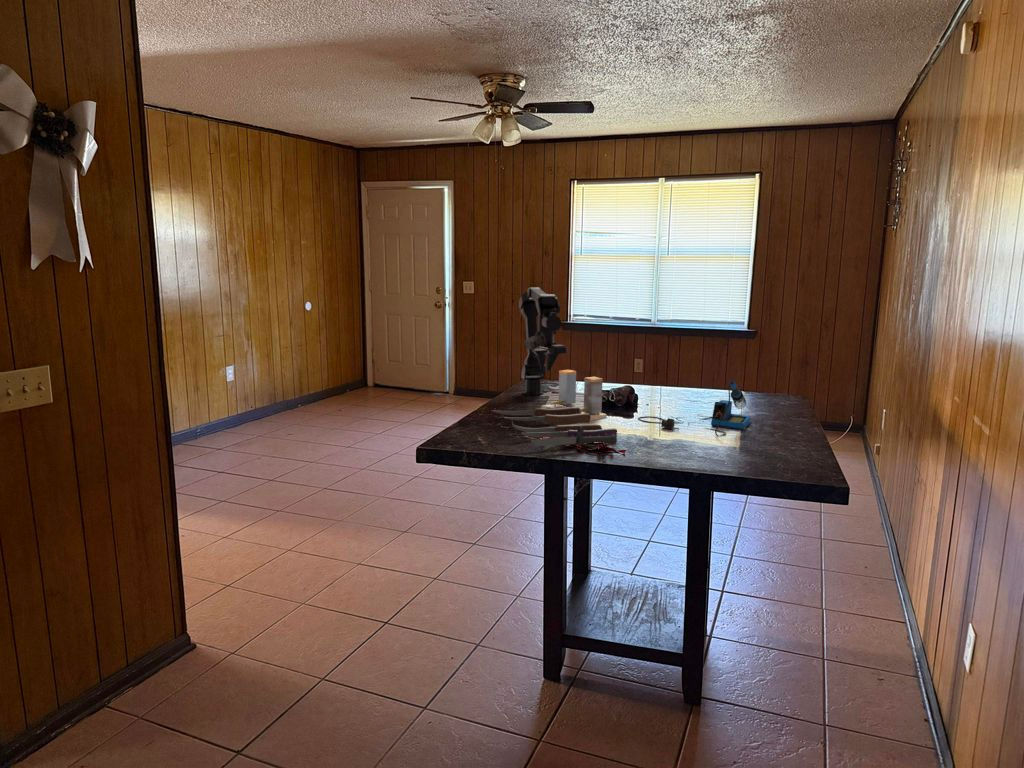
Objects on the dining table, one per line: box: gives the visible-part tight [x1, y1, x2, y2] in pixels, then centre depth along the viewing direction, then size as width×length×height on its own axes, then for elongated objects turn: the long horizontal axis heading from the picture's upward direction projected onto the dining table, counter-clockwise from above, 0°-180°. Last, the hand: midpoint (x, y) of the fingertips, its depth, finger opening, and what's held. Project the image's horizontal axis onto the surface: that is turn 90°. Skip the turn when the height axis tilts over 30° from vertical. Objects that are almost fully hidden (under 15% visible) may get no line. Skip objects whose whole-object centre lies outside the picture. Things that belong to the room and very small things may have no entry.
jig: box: [540, 376, 607, 421], centre depth 249 cm, size 23×11×14 cm, turn 35°
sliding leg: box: [549, 369, 577, 406], centre depth 253 cm, size 4×10×12 cm, turn 125°
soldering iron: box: [637, 380, 751, 437], centre depth 238 cm, size 35×31×18 cm
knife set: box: [490, 407, 618, 447], centre depth 219 cm, size 35×33×8 cm
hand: (545, 369), depth 263 cm, fingers open, 4 cm apart
